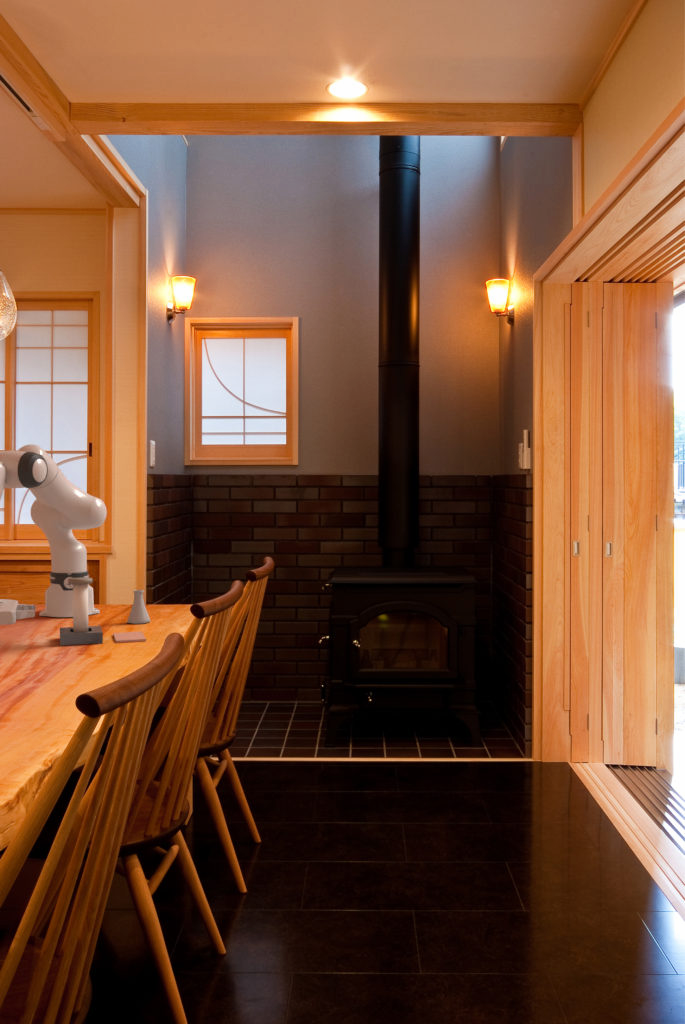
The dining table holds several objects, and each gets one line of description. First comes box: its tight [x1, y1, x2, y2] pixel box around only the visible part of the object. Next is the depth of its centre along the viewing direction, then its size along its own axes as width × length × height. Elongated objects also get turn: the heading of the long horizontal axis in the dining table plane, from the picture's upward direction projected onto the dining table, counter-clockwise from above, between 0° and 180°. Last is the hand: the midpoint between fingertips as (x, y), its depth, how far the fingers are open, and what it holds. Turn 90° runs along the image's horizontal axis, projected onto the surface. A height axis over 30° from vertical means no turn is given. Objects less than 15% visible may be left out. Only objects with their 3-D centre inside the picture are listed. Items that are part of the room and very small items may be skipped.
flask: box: [126, 589, 151, 625], centre depth 270 cm, size 7×7×10 cm
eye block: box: [59, 625, 104, 647], centre depth 240 cm, size 11×11×3 cm
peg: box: [68, 577, 94, 632], centre depth 239 cm, size 6×6×17 cm
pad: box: [112, 631, 147, 644], centre depth 244 cm, size 12×8×1 cm, turn 19°
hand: (35, 610), depth 236 cm, fingers open, 8 cm apart
